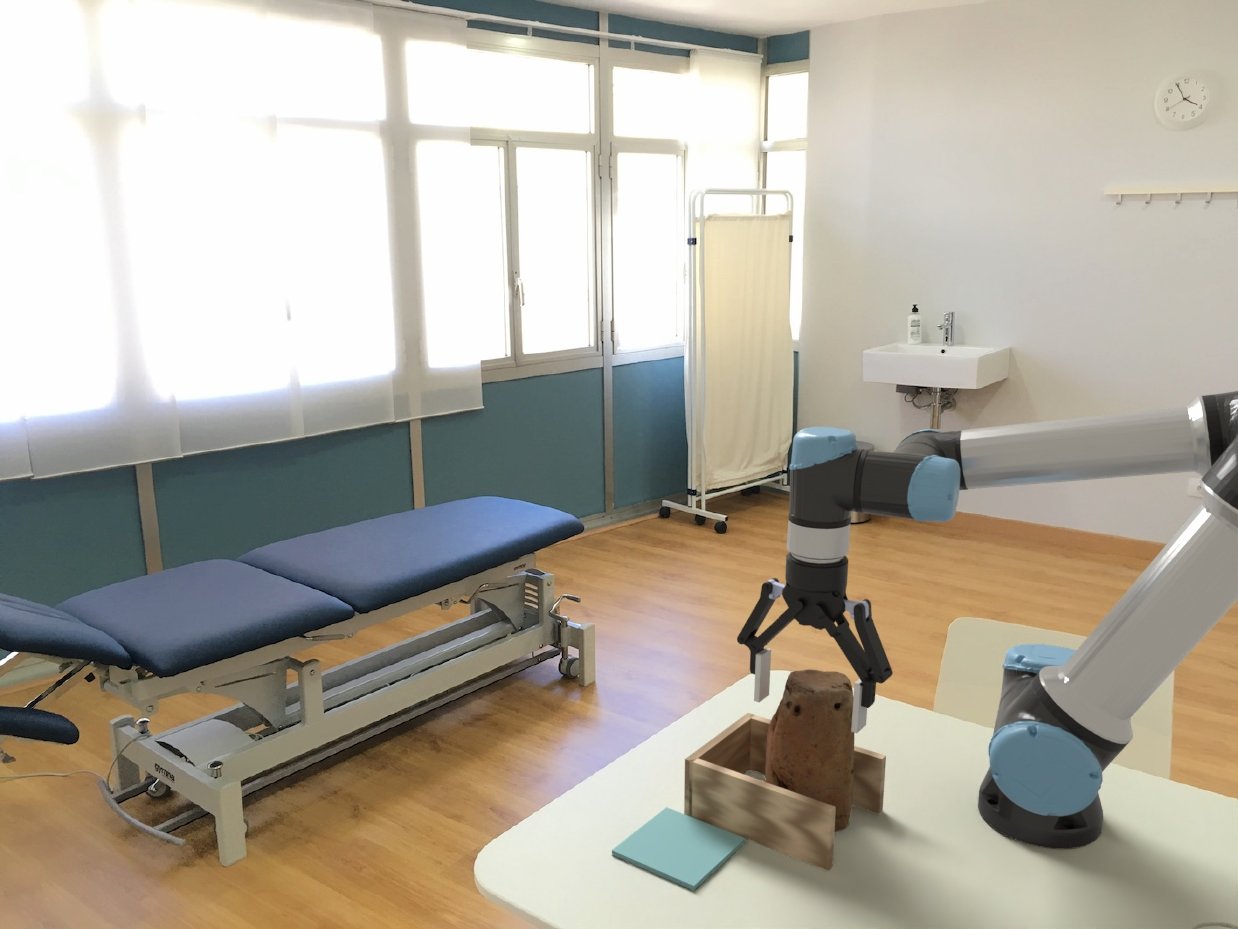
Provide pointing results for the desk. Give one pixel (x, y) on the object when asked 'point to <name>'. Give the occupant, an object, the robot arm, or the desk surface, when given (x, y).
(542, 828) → the desk surface
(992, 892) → the desk surface
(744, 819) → the wooden u-shaped enclosure
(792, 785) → the brown pitted rock
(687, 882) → the mat
